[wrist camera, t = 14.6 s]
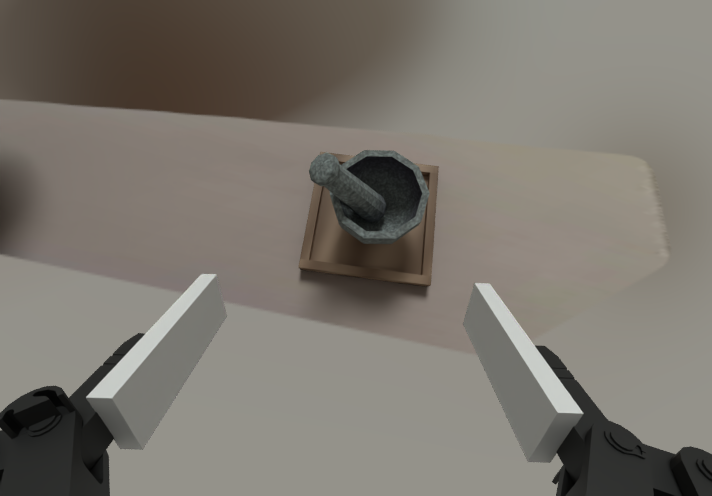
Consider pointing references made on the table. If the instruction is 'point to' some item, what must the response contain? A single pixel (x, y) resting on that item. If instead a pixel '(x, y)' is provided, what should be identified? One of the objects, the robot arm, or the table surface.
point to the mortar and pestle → (373, 194)
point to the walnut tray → (372, 261)
